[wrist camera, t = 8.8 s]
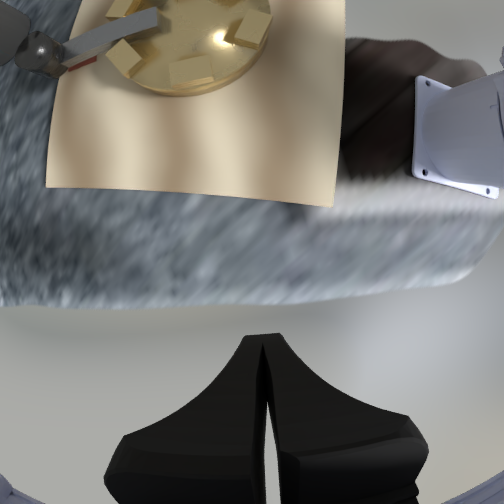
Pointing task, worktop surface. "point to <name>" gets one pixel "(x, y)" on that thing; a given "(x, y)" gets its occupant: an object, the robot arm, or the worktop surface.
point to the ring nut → (163, 44)
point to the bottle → (11, 31)
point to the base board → (210, 118)
